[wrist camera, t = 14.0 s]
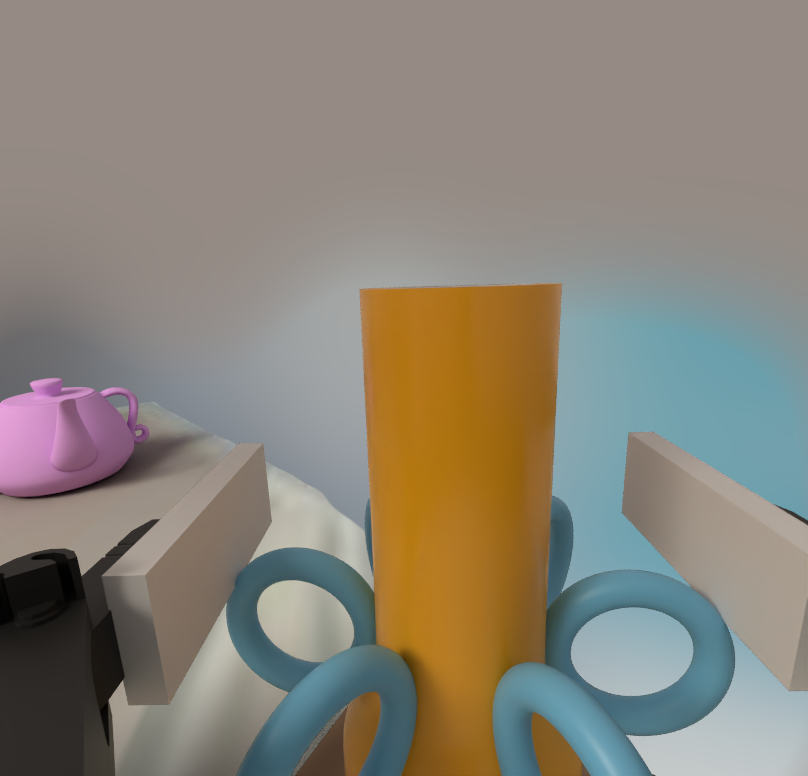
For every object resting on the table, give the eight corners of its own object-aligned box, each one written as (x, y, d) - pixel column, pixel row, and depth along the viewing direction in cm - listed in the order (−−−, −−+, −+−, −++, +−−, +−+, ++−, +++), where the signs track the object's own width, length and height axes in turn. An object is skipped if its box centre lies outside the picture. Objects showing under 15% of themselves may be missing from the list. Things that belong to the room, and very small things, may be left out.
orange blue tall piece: (121, 1113, 8) (-106, 305, 5) (313, 663, 19) (280, 289, 15) (868, 1336, 7) (1303, 269, 3) (631, 697, 17) (675, 278, 13)
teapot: (-33, 547, 46) (-70, 418, 43) (-48, 486, 60) (-76, 386, 57) (187, 477, 62) (172, 378, 58) (133, 442, 76) (119, 361, 73)
